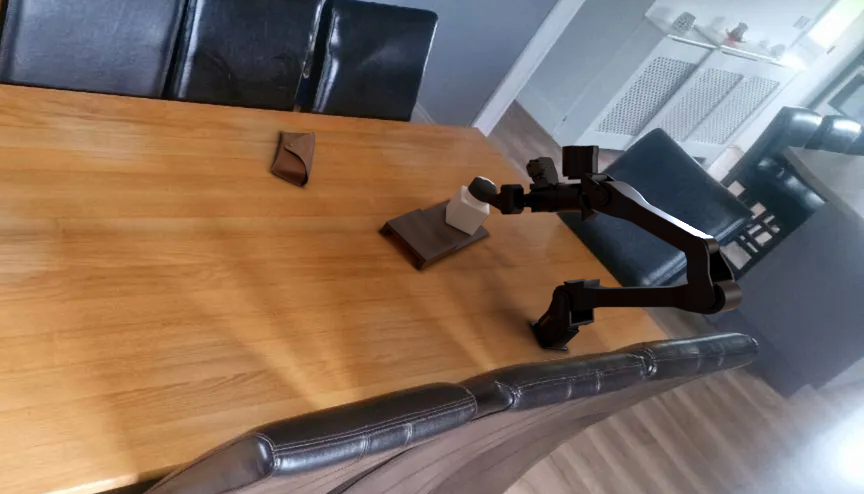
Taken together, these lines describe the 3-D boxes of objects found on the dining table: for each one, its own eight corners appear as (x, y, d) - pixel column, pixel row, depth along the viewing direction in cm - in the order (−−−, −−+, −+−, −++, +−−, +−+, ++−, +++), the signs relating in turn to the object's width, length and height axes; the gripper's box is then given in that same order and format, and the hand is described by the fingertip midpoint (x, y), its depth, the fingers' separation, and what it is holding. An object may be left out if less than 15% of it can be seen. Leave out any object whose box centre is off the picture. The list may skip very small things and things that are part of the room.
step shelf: (451, 201, 171) (457, 192, 170) (487, 234, 167) (494, 226, 165) (379, 231, 151) (386, 221, 149) (419, 270, 146) (426, 260, 145)
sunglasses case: (279, 129, 164) (302, 115, 161) (297, 151, 167) (320, 137, 164) (269, 171, 151) (295, 157, 147) (289, 194, 154) (314, 181, 151)
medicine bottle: (472, 236, 162) (502, 198, 155) (444, 223, 162) (473, 184, 154) (472, 219, 168) (501, 181, 160) (445, 206, 167) (473, 168, 160)
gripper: (591, 158, 146) (526, 163, 159) (535, 157, 136) (471, 162, 149) (591, 211, 147) (527, 212, 160) (535, 214, 137) (471, 215, 150)
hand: (500, 199), depth 155 cm, fingers open, 9 cm apart
